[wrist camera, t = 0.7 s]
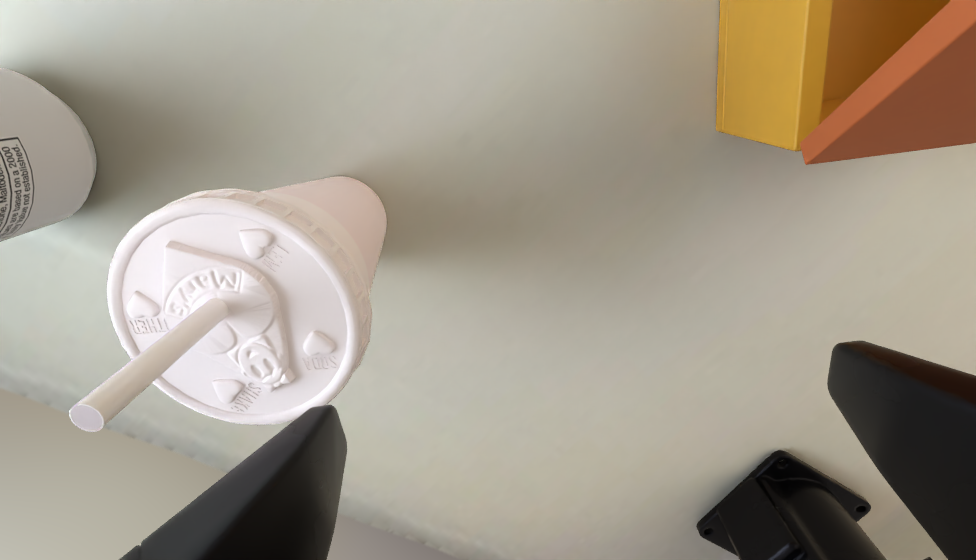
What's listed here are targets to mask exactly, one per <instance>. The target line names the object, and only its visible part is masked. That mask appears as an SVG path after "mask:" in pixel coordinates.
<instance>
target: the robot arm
mask: <svg viewBox="0 0 976 560" xmlns="http://www.w3.org/2000/svg"><path fill="white" fill-rule="evenodd" d="M827 384H828V390H829V393H830V395H831V397H832V399H833V400H834V402H835V404H836V405H837V407H838V408H839V410H840V411H841V413H842V414H843V416H844V418H845V419H846V421H847V422H848V424H849V425H850V427H851V429H852V430H853V432H854V433H855V435H856V436H857V438H858V440H859V441H860V443H861V444H862V446H863V447H864V449H865V451H866V452H867V454H868V455H869V457H870V458H871V460H872V461H873V463H874V464H875V466H876V467H877V469H878V470H879V471H880V473H881V474H882V476H883V477H884V478H885V480H886V481H887V482H888V484H889V485H890V486H891V487H892V489H893V490H894V491H895V492H896V494H897V495H898V496H899V498H900V499H901V500H902V501H903V503H904V504H905V505H906V506H907V508H908V509H909V510H910V512H911V513H912V514H913V515H914V517H915V518H916V519H917V520H918V522H919V523H920V524H921V525H922V527H923V528H924V529H925V531H926V532H927V533H928V534H929V536H930V537H931V538H932V539H933V541H934V542H935V543H936V545H937V546H938V547H939V548H940V550H941V551H942V552H943V553H944V555H945V556H946V557H947V559H948V560H976V376H975V375H971V374H968V373H965V372H962V371H958V370H955V369H952V368H949V367H946V366H942V365H939V364H936V363H933V362H930V361H926V360H923V359H920V358H917V357H914V356H910V355H907V354H904V353H901V352H898V351H894V350H891V349H888V348H885V347H881V346H878V345H875V344H872V343H869V342H865V341H852V342H844V343H838V344H837V345H835V347H834V348H833V351H832V356H831V362H830V368H829V375H828V383H827ZM346 454H347V442H346V438H345V434H344V431H343V428H342V425H341V422H340V419H339V416H338V413H337V410H336V409H335V407H334V406H332V405H325V406H317V407H311V408H310V409H308V410H307V411H306V412H304V413H303V414H302V415H301V416H299V417H298V418H297V419H296V420H294V421H293V422H292V423H291V424H289V425H288V426H287V427H285V428H284V429H283V430H282V431H280V432H279V433H278V434H277V435H275V436H274V437H273V438H272V439H270V440H269V441H268V442H267V443H265V444H264V445H263V446H262V447H260V448H259V449H258V450H257V451H255V452H254V453H253V454H252V455H250V456H249V457H248V458H246V459H245V460H244V461H243V462H241V463H240V464H239V465H238V466H236V467H235V468H234V469H233V470H231V471H230V472H229V473H228V474H226V475H225V476H224V477H223V478H221V479H220V480H219V481H218V482H216V483H215V484H214V485H213V486H211V487H210V488H209V489H208V490H206V491H205V492H204V493H202V494H201V495H200V496H199V497H197V498H196V499H195V500H194V501H192V502H191V503H190V504H189V505H187V506H186V507H185V508H184V509H183V510H181V511H180V512H179V513H177V514H176V515H175V516H173V517H172V518H171V519H170V520H168V521H167V522H166V523H165V524H164V525H162V526H161V527H160V528H158V529H157V530H156V531H155V532H153V533H152V534H151V535H150V536H148V537H147V538H146V539H145V540H143V541H142V543H141V546H139V545H138V546H136V547H134V548H133V549H132V550H131V551H129V552H128V553H127V554H126V555H124V556H123V557H122V558H121V559H120V560H326V559H327V556H328V551H329V548H330V544H331V541H332V537H333V533H334V528H335V522H336V517H337V511H338V505H339V498H340V492H341V486H342V480H343V473H344V467H345V461H346ZM781 460H783V461H781ZM780 461H781V462H780ZM870 509H871V506H870V504H869V503H868V502H867V501H866V500H865V498H864V497H862V496H860V495H859V494H857V493H855V492H854V491H852V490H850V489H849V488H847V487H845V486H843V485H842V484H840V483H838V482H837V481H835V480H833V479H832V478H830V477H828V476H827V475H825V474H823V473H822V472H820V471H818V470H817V469H815V468H813V467H811V466H810V465H808V464H806V463H805V462H803V461H801V460H800V459H798V458H796V457H795V456H793V455H791V454H790V453H788V452H786V451H783V450H779V451H776V452H774V453H772V454H771V455H770V456H769V457H768V458H767V459H766V460H765V461H764V462H763V463H762V464H760V465H759V466H758V467H757V468H756V469H755V470H754V471H753V472H752V473H751V474H750V475H749V476H748V477H746V478H745V479H744V480H743V481H742V482H741V483H740V484H739V485H738V486H737V487H736V488H735V489H734V490H732V491H731V492H730V493H729V494H728V495H727V496H726V497H725V498H724V499H723V500H722V501H721V502H720V503H718V504H717V505H716V506H715V507H714V508H713V509H712V510H711V511H710V512H709V513H708V514H707V515H706V516H704V517H703V518H702V519H701V520H700V521H699V522H698V524H697V529H698V531H699V534H700V536H702V537H703V538H705V539H707V540H709V541H710V542H712V543H714V544H716V545H718V546H720V547H722V548H724V549H726V550H728V551H729V552H731V553H733V554H735V555H737V556H738V557H739V559H740V560H886V558H885V557H884V556H883V555H882V553H881V552H880V551H879V550H878V548H877V547H876V546H875V545H874V543H873V542H872V541H871V540H870V538H869V537H868V536H867V535H866V533H865V532H864V531H863V530H862V528H861V527H860V526H859V525H858V523H857V521H859V520H860V519H861V518H862V517H864V516H865V515H866V514H867V513H868V512H869V511H870ZM707 528H708V529H707ZM924 560H932V559H931V558H930V557H928V558H926V559H924Z"/></svg>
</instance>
